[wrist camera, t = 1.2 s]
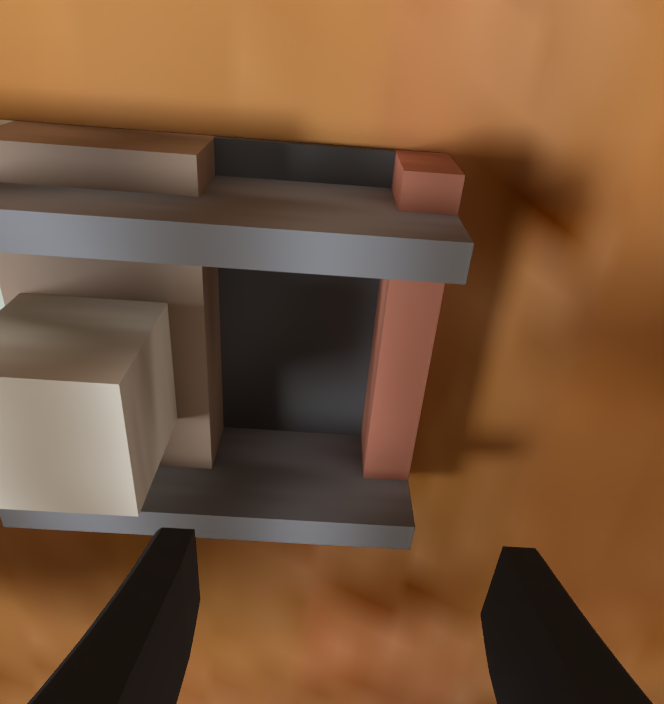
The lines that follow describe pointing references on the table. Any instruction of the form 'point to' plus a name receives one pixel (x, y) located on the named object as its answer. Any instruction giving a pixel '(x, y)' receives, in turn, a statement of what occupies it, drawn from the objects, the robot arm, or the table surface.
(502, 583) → the robot arm
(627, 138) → the table surface
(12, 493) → the cream block
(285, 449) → the tunnel deck
